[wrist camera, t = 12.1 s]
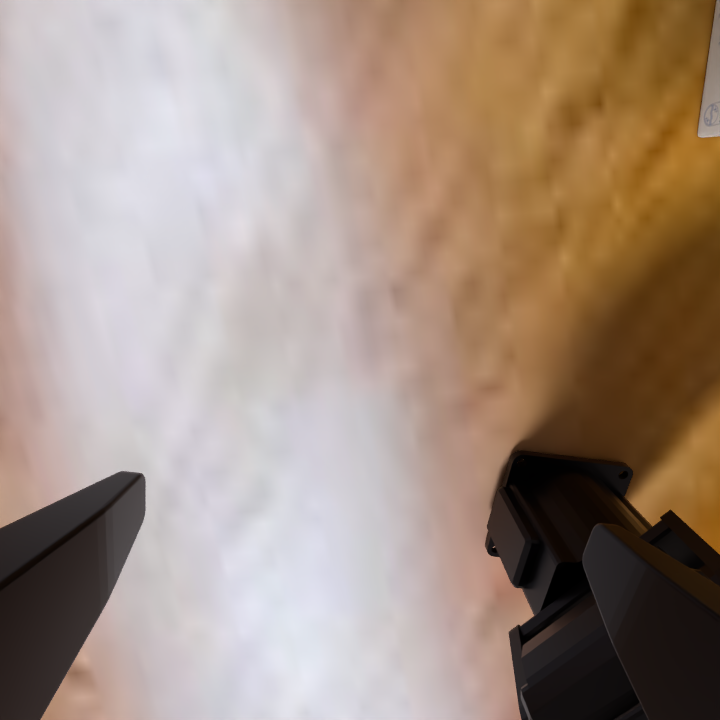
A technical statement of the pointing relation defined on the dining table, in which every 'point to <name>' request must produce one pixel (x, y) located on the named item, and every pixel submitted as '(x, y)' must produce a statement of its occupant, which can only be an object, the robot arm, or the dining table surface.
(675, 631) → the robot arm
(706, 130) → the light bulb box
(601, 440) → the dining table surface
